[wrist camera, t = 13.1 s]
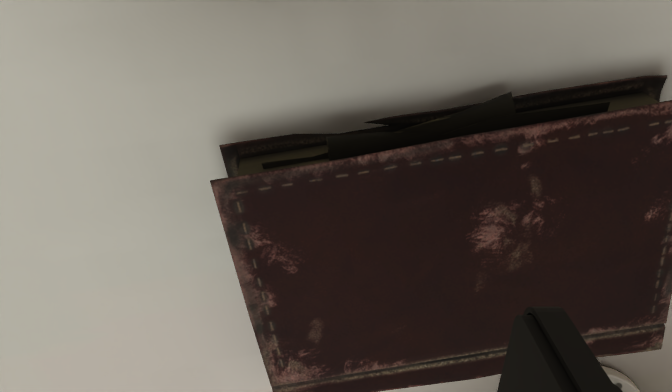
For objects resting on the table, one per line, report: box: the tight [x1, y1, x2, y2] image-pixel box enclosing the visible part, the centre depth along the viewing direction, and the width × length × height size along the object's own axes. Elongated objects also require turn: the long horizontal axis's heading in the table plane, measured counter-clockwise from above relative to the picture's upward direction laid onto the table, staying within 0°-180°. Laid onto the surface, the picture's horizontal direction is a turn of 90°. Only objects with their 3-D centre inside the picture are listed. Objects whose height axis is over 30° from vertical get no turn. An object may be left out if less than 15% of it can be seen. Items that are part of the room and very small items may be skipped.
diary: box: [210, 75, 672, 392], centre depth 34 cm, size 19×25×5 cm
